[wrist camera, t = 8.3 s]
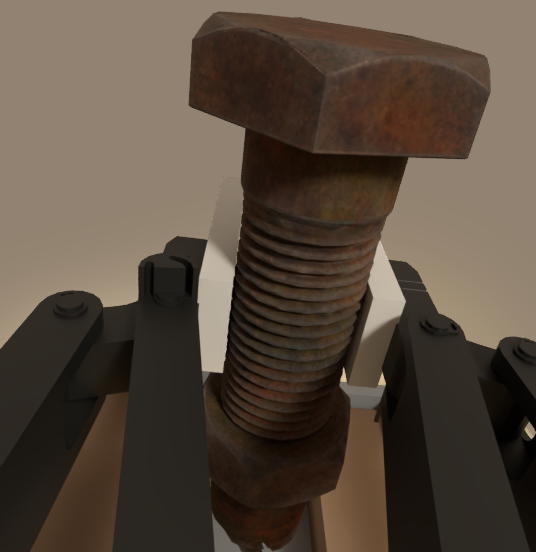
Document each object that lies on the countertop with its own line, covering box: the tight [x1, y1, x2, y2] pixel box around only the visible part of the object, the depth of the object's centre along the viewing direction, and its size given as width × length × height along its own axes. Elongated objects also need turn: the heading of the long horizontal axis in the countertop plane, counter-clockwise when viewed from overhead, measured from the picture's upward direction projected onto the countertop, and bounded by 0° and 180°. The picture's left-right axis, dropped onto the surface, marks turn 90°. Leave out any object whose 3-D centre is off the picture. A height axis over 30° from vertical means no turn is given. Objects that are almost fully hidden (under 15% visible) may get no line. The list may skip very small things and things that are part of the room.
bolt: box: [189, 12, 490, 552], centre depth 13 cm, size 6×5×15 cm
